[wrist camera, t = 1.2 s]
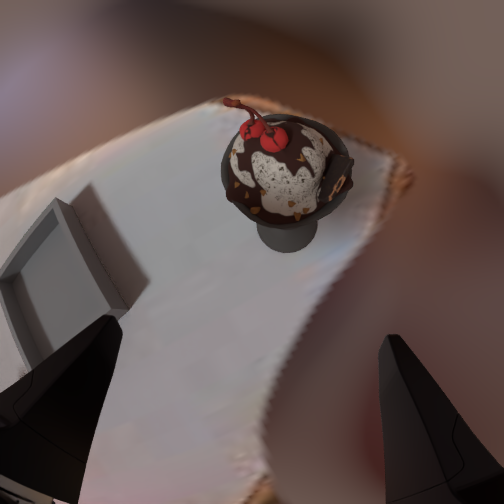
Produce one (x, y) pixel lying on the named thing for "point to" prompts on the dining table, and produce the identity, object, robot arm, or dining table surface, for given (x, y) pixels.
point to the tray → (54, 285)
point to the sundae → (285, 175)
